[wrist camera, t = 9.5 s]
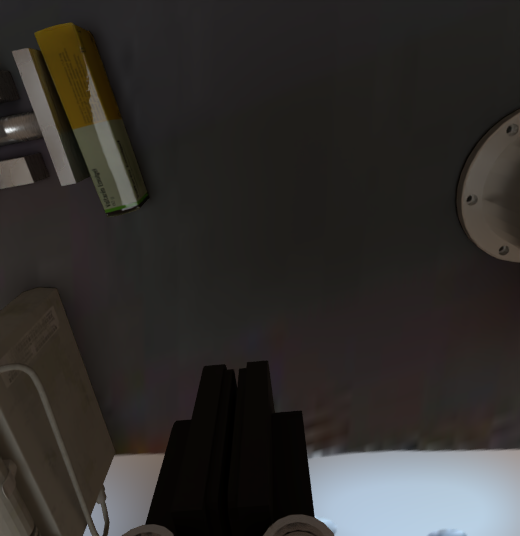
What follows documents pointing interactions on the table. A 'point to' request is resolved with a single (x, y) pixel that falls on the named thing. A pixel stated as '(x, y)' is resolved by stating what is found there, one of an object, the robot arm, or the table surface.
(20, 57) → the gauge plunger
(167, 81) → the table surface
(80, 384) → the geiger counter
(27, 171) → the grey u-shaped bracket
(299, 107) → the table surface
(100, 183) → the medication box
